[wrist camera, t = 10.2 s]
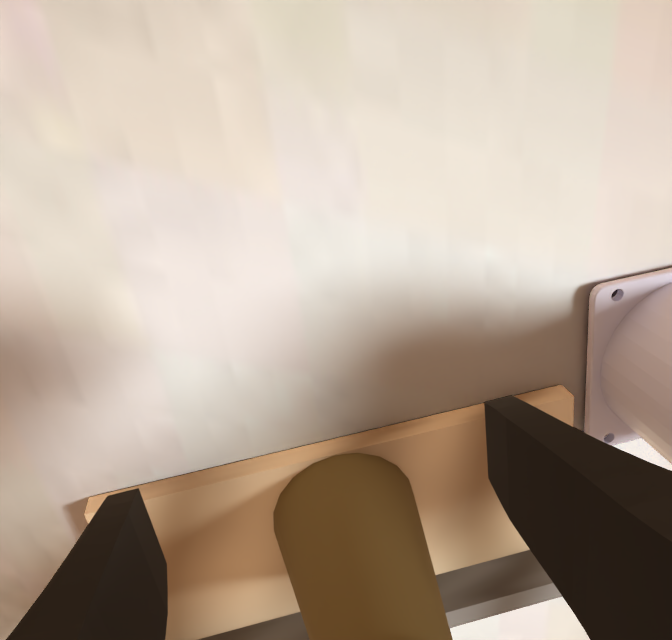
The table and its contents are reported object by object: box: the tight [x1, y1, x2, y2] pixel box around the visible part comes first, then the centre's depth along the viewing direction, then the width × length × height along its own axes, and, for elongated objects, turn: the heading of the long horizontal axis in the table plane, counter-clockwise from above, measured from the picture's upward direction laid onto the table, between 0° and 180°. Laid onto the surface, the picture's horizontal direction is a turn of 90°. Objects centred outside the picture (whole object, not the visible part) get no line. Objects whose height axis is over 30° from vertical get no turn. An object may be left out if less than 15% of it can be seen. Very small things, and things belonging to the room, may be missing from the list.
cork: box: [273, 453, 452, 640], centre depth 20 cm, size 6×6×11 cm
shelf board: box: [84, 385, 574, 640], centre depth 25 cm, size 20×9×3 cm, turn 98°
